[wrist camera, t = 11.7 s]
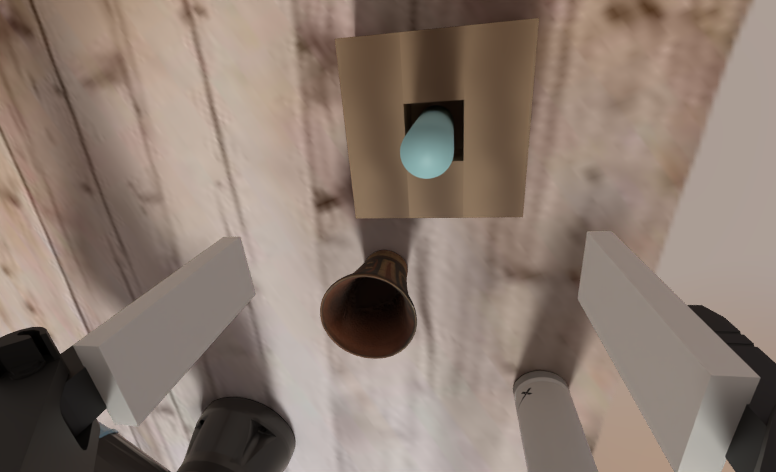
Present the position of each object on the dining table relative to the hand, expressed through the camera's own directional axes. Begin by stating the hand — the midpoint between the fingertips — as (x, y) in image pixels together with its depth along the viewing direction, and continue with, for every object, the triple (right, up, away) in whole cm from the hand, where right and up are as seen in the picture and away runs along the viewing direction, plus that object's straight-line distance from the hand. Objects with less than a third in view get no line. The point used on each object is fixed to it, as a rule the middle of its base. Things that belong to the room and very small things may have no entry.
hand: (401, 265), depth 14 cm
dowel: (+4, +11, +18) cm, 22 cm away
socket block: (+4, +12, +19) cm, 23 cm away
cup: (-1, -2, +27) cm, 27 cm away
